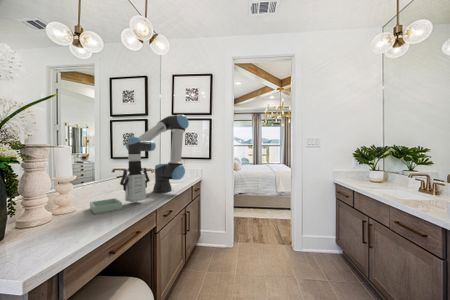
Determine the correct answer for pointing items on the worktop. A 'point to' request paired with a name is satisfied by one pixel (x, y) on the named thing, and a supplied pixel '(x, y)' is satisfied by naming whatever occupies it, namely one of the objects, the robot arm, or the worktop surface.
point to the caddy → (105, 206)
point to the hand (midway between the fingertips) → (135, 194)
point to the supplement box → (136, 188)
